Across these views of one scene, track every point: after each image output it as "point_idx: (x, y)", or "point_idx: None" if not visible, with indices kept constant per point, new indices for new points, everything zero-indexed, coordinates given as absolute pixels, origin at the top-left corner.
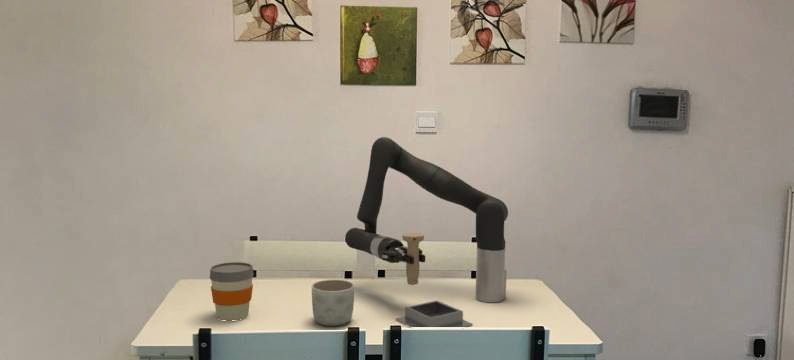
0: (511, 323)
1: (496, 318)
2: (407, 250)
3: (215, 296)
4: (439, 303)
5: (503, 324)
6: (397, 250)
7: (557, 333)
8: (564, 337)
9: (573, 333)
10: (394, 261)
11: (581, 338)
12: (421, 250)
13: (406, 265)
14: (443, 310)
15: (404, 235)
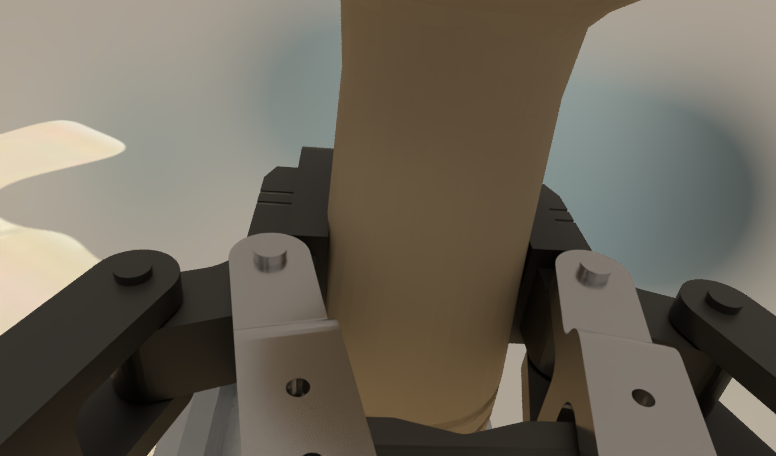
0: (40, 266)
1: (8, 327)
2: (543, 177)
3: None
4: (205, 454)
5: (78, 275)
6: (705, 436)
7: (46, 169)
8: (71, 153)
9: (12, 153)
10: (722, 412)
11: (46, 136)
12: (83, 284)
13: (491, 394)
14: (217, 437)
15: None
